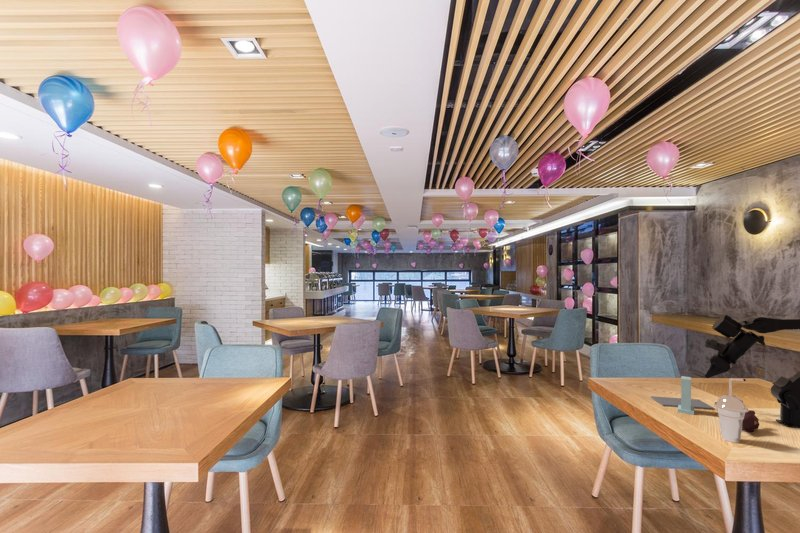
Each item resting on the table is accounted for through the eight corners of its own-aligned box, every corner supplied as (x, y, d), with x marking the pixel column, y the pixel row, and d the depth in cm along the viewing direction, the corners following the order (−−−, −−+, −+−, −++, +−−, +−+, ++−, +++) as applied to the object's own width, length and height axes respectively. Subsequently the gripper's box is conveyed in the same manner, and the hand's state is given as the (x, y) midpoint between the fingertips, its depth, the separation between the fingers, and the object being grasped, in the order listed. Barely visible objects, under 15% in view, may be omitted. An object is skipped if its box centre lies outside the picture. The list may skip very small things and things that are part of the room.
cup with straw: (743, 437, 134) (743, 373, 134) (753, 447, 125) (753, 379, 126) (710, 433, 137) (710, 370, 138) (718, 442, 129) (718, 376, 130)
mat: (714, 409, 163) (714, 408, 163) (663, 405, 166) (663, 404, 166) (698, 400, 175) (698, 399, 175) (651, 397, 178) (651, 396, 178)
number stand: (694, 410, 162) (694, 377, 162) (694, 414, 156) (694, 380, 156) (678, 407, 165) (678, 375, 165) (677, 412, 159) (677, 378, 159)
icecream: (757, 418, 133) (768, 414, 142) (729, 407, 138) (741, 403, 148) (749, 439, 133) (761, 433, 143) (722, 426, 139) (734, 421, 149)
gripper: (723, 327, 165) (694, 355, 172) (712, 333, 152) (682, 363, 159) (752, 347, 159) (721, 375, 166) (744, 355, 146) (711, 386, 153)
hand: (708, 374), depth 161 cm, fingers open, 9 cm apart
